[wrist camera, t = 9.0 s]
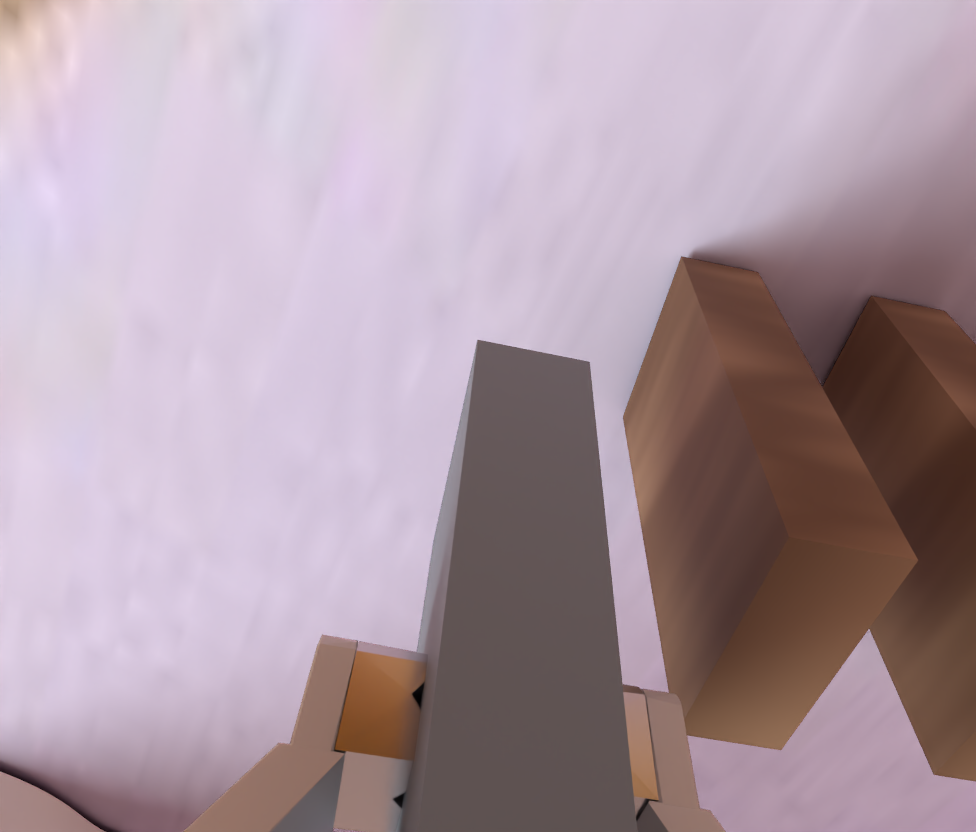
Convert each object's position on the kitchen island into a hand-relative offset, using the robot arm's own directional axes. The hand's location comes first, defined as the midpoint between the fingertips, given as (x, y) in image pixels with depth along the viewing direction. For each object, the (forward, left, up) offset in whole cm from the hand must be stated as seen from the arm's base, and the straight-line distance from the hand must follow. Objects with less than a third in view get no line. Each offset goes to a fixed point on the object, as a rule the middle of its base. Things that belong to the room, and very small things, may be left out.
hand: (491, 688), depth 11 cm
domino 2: (0, -10, -12) cm, 15 cm away
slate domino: (0, 0, -5) cm, 5 cm away
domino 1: (0, -5, -12) cm, 13 cm away
